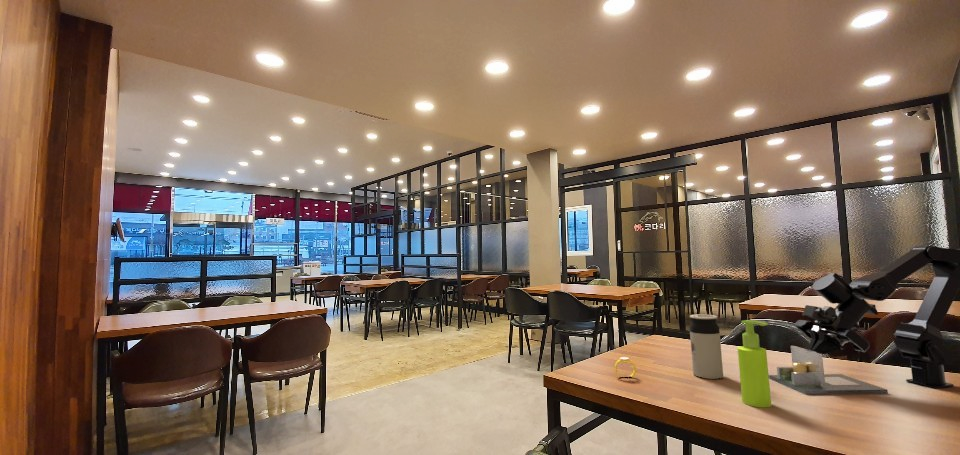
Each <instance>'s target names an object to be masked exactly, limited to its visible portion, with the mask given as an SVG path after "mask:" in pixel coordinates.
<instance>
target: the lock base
mask: <svg viewBox="0 0 960 455" xmlns="http://www.w3.org/2000/svg"><path fill="white" fill-rule="evenodd" d="M792 367H793V372H807V365H806V364H805V363H801V362H793V364H792ZM768 375H769V380H771V379H772V381H774V382H777V383H779V384H781V385H783V386H785V387H788V388H790V389H792V390H795V391H797V392H799V393H802V394H804V395H811V396H812V395H813V396H815V395H871V394H872V395H876V394H878V395H882V394H883V395H884V394H886V395H888V393H889V392H888V391H889V390H888V389H886V388H883V387H881V386H878V385H875V384H871V383H868V382H866V381H863V380H860V379H856V378H853V377H851V376H848V375H844V374H841V373H829V374H827V373H826V374H825V373H824V377H825V386H826V387H821V386H818V385H794V384H792V379H779V378H778V375H777V374H768Z"/></svg>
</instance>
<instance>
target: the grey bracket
mask: <svg viewBox="0 0 960 455" xmlns="http://www.w3.org/2000/svg"><path fill="white" fill-rule="evenodd" d="M790 354H791V362H792V365H793V362H801V363H805V364H806V365H807V372H793V366H776V371H777V372H776V373H777V374H776V375H778V378H779V379H792V384H794V385H818V386H821V387H826V386H825V377H824V374H825V369H824V359H823V355H822V354H821V353H817V352H814V351H811V350H808V348H803V347H799V346H795V345H790Z"/></svg>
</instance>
